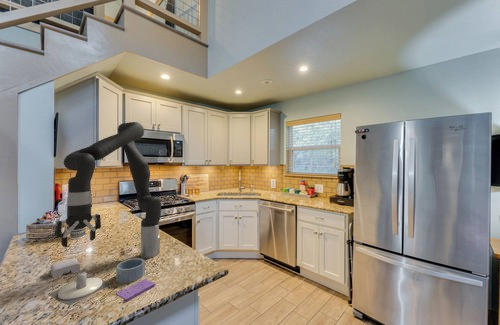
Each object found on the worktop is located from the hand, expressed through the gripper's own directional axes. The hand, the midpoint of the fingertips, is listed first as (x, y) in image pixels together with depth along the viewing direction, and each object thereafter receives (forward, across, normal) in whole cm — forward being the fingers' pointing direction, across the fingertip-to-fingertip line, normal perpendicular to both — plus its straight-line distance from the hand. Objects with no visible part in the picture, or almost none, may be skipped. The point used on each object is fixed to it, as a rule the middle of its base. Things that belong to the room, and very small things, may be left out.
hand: (79, 243), depth 84 cm
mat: (+20, -1, 0) cm, 20 cm away
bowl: (+20, -17, +6) cm, 27 cm away
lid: (+19, -1, 0) cm, 19 cm away
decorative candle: (+20, -22, -78) cm, 84 cm away
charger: (+20, -2, -27) cm, 34 cm away
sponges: (+21, -14, +18) cm, 31 cm away
